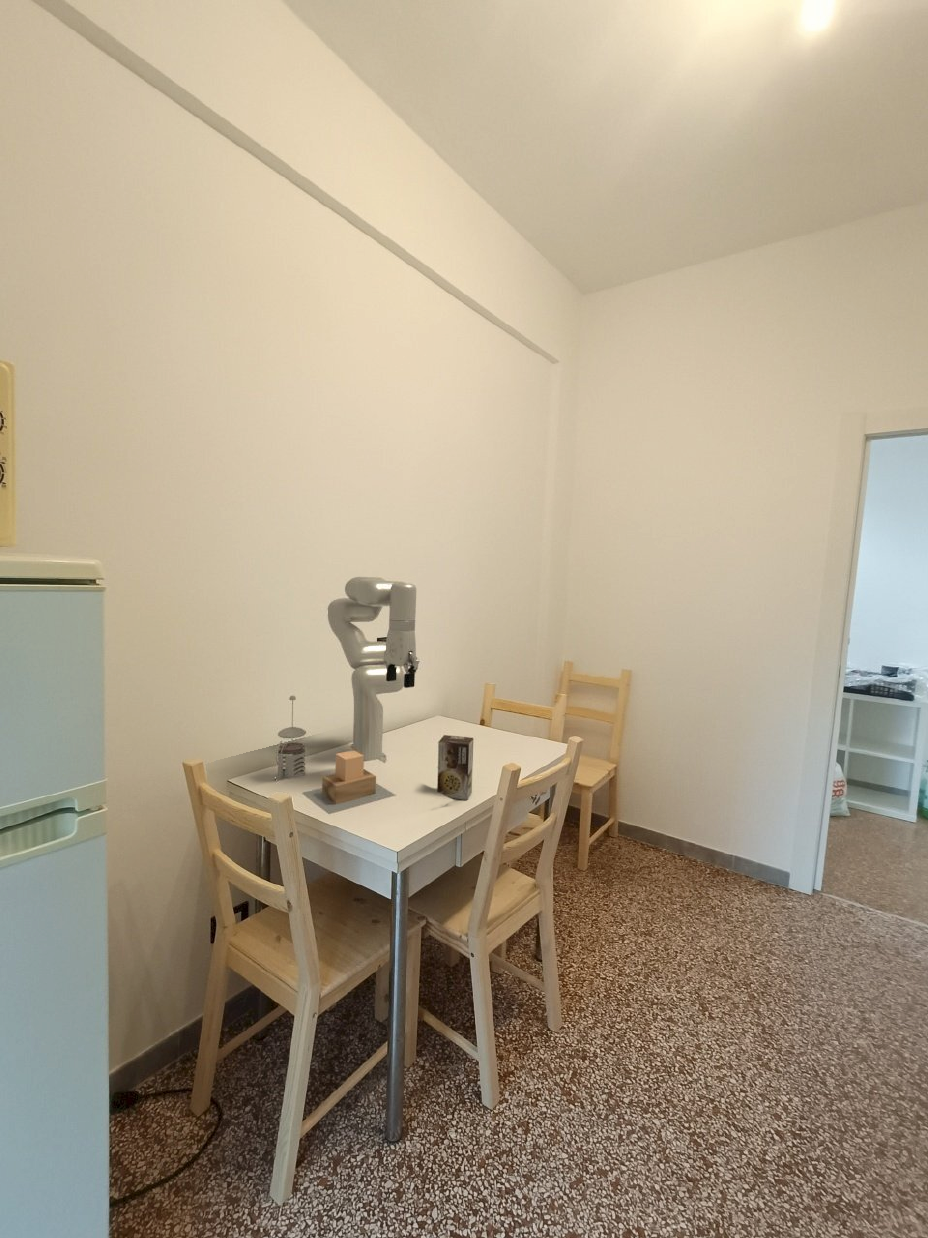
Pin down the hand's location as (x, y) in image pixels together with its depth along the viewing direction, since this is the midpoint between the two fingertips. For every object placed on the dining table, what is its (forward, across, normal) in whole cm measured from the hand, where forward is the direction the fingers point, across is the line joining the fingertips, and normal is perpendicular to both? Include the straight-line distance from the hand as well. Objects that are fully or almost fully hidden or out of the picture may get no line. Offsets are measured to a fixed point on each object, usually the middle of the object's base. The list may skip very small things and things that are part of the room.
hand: (400, 683), depth 159 cm
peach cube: (+23, +3, -17) cm, 29 cm away
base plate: (+30, +3, -17) cm, 35 cm away
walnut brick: (+28, +3, -17) cm, 33 cm away
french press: (+30, -20, -25) cm, 44 cm away
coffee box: (+30, +16, +9) cm, 35 cm away
